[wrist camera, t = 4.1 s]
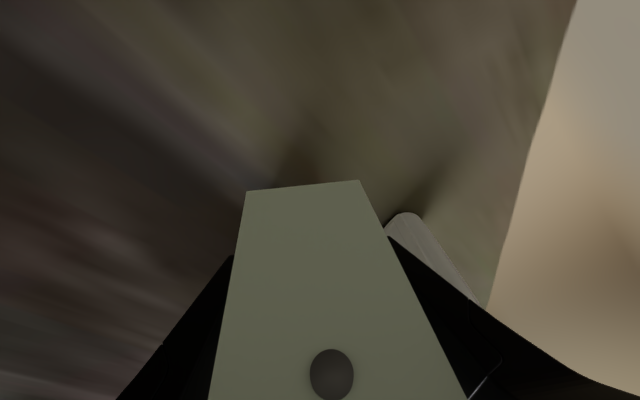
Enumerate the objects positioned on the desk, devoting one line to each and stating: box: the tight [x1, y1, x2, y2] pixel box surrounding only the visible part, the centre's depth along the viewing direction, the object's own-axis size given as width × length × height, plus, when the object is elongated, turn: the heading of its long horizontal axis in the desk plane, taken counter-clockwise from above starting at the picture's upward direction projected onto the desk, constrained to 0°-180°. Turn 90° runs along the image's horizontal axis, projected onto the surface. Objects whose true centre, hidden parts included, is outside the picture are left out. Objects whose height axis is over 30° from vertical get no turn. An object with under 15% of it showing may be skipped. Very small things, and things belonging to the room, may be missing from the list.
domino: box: [208, 180, 467, 400], centre depth 8 cm, size 5×2×10 cm, turn 92°
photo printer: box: [383, 212, 482, 308], centre depth 24 cm, size 10×4×12 cm, turn 153°
